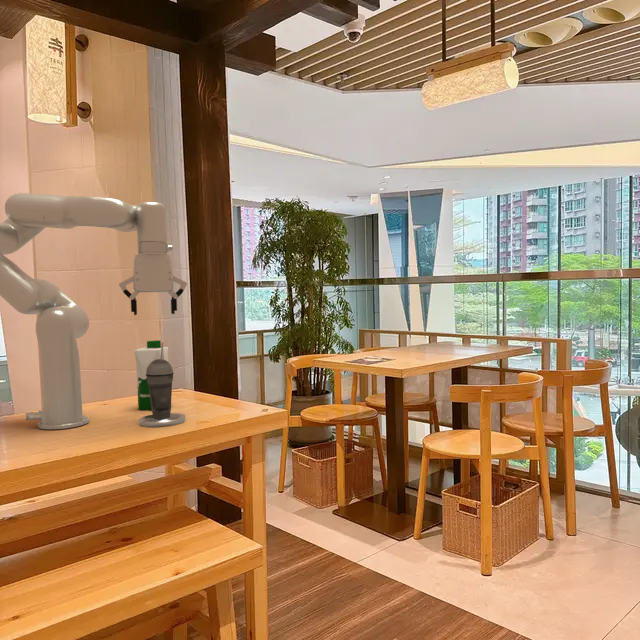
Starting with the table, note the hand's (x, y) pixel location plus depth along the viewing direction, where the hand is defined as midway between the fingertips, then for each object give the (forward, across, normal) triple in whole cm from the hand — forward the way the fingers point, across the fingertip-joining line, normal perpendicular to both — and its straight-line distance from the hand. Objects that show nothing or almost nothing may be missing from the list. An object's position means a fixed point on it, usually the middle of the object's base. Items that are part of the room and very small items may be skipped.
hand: (154, 314), depth 159 cm
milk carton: (+29, 0, -20) cm, 35 cm away
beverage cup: (+28, -1, +1) cm, 28 cm away
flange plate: (+29, -1, +2) cm, 29 cm away
